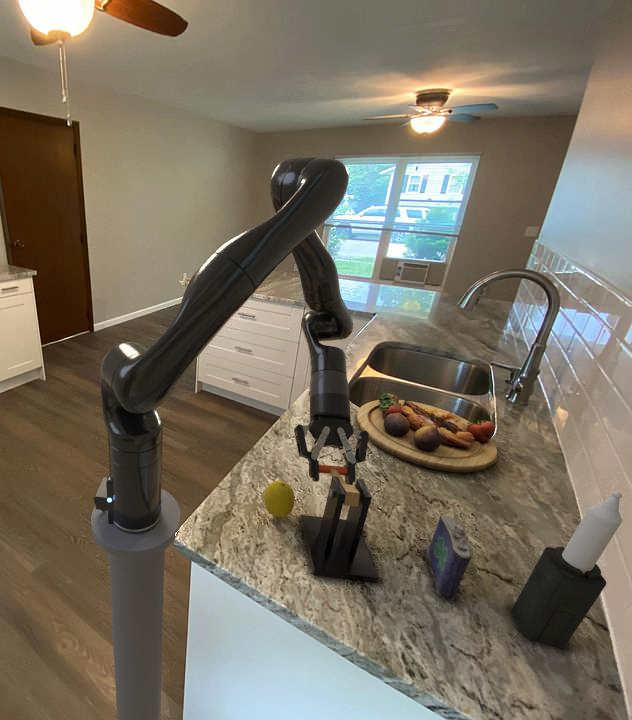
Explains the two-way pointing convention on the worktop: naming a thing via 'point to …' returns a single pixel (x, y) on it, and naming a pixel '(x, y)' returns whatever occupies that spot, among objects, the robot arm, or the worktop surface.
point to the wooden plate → (428, 435)
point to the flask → (448, 556)
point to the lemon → (279, 499)
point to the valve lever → (342, 483)
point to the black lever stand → (340, 537)
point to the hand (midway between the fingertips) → (332, 482)
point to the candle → (567, 579)
